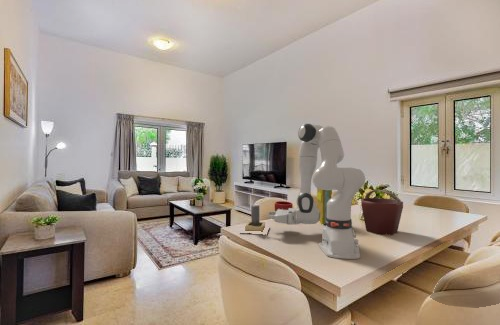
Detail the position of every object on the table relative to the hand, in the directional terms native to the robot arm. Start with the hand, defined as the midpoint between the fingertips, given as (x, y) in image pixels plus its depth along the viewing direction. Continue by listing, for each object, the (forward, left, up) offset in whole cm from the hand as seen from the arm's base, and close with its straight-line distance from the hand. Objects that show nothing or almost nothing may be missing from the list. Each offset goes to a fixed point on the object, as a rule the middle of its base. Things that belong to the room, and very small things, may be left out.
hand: (268, 214), depth 150 cm
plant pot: (+35, -7, -10) cm, 37 cm away
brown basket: (+13, -66, -10) cm, 68 cm away
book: (+31, -35, -10) cm, 48 cm away
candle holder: (0, +8, -10) cm, 13 cm away
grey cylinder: (0, +8, -9) cm, 12 cm away
